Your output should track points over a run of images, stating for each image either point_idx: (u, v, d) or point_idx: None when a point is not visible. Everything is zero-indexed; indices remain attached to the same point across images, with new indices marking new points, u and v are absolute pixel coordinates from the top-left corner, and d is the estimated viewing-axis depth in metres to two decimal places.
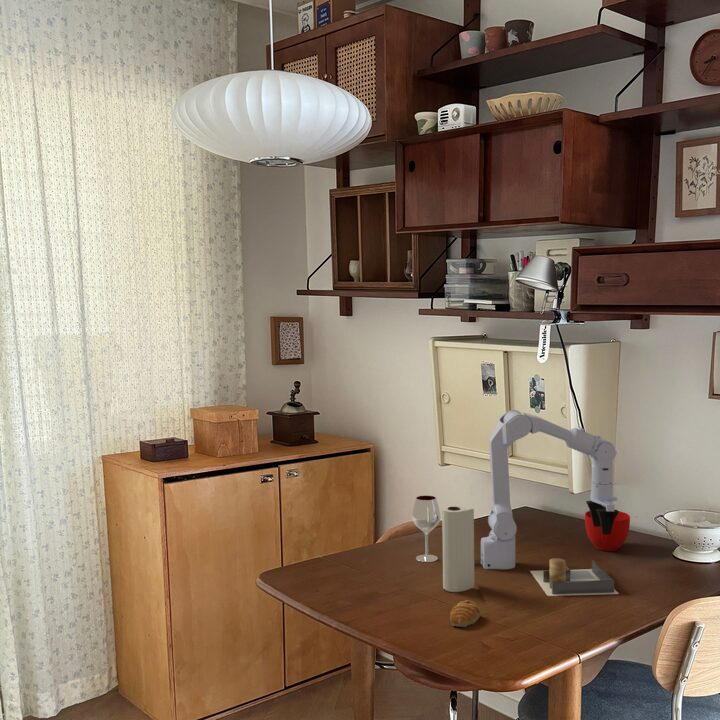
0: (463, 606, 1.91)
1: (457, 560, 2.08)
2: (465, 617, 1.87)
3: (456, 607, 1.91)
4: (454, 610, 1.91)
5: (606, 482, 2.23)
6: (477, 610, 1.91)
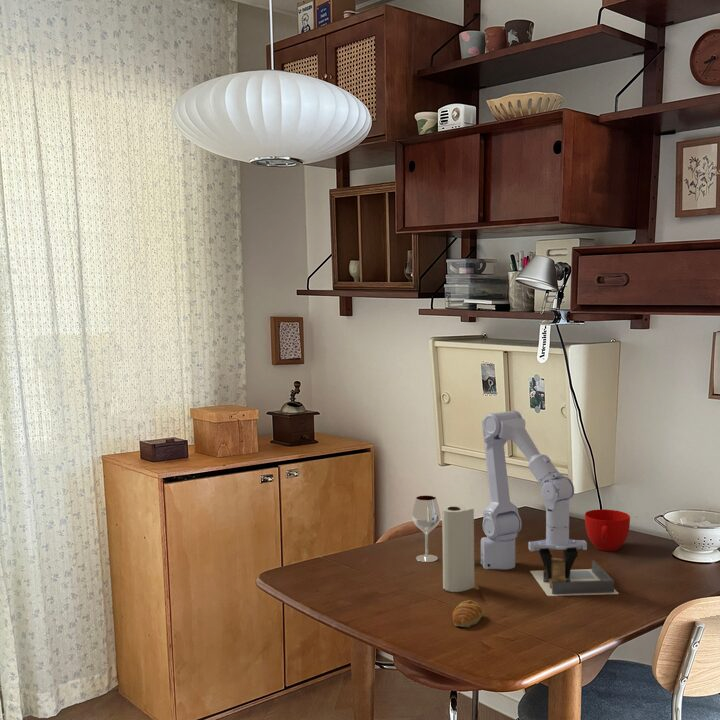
0: (465, 606, 1.91)
1: (457, 560, 2.08)
2: (468, 617, 1.87)
3: (458, 607, 1.91)
4: (456, 610, 1.91)
5: (550, 524, 2.05)
6: (479, 610, 1.91)
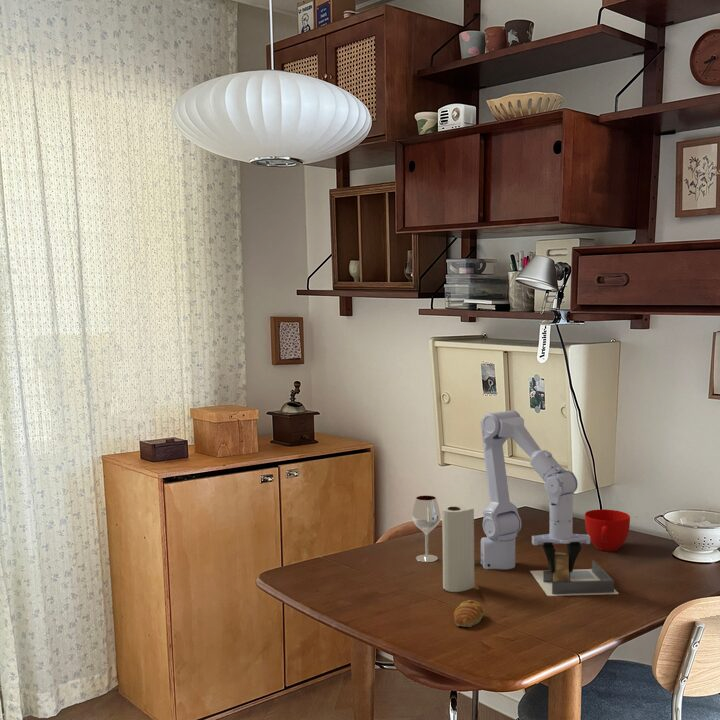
0: (467, 606, 1.91)
1: (457, 560, 2.08)
2: (470, 617, 1.87)
3: (460, 607, 1.91)
4: (458, 610, 1.91)
5: (554, 519, 2.05)
6: (481, 610, 1.91)
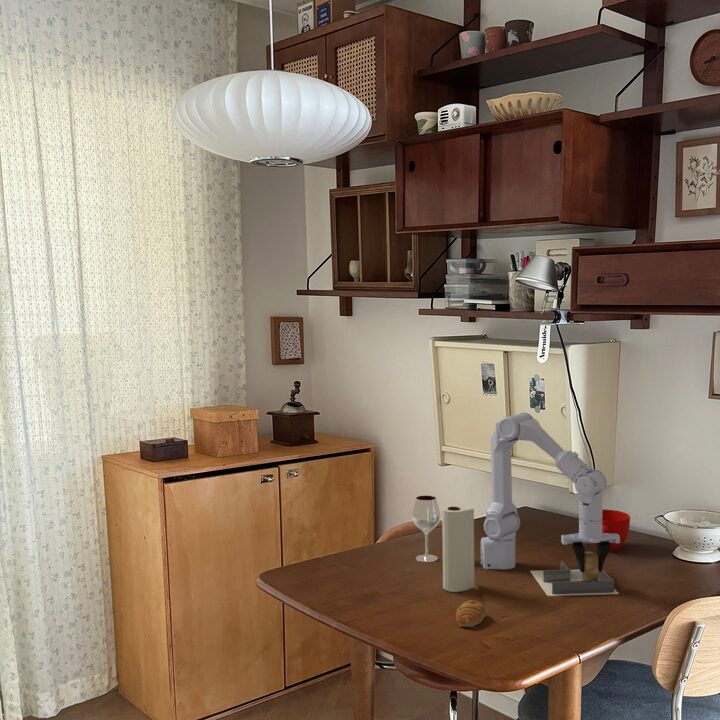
0: (469, 606, 1.91)
1: (457, 560, 2.08)
2: (472, 617, 1.87)
3: (462, 607, 1.91)
4: (460, 610, 1.91)
5: (586, 518, 2.05)
6: (483, 610, 1.91)
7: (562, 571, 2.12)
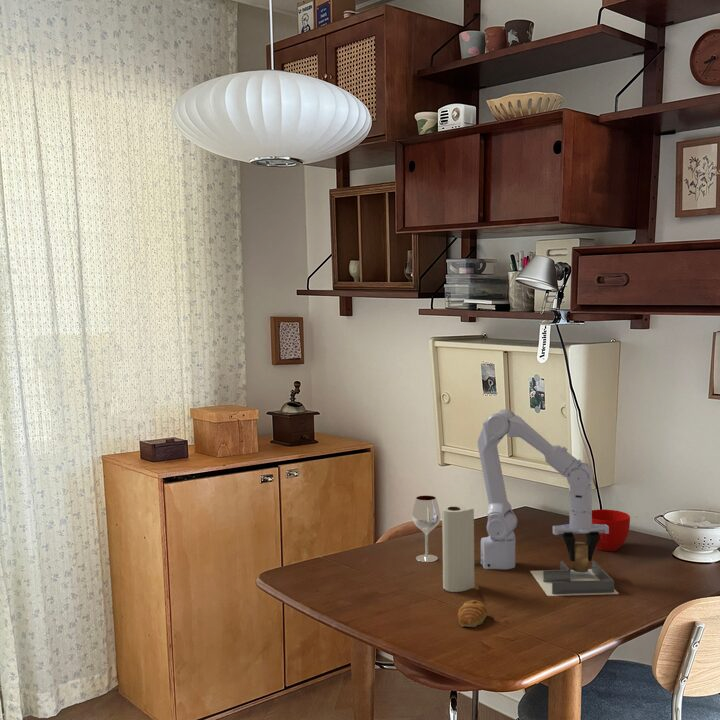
0: (470, 606, 1.91)
1: (457, 560, 2.08)
2: (474, 617, 1.87)
3: (464, 607, 1.91)
4: (462, 610, 1.90)
5: (579, 510, 2.13)
6: (484, 610, 1.91)
7: (562, 571, 2.12)
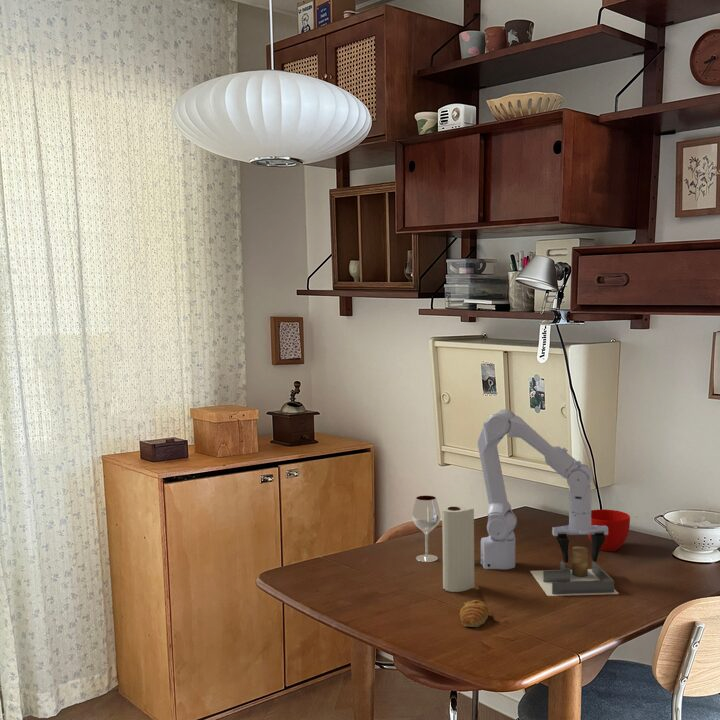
0: (472, 606, 1.91)
1: (457, 560, 2.08)
2: (477, 617, 1.87)
3: (466, 607, 1.91)
4: (464, 610, 1.90)
5: (579, 511, 2.14)
6: (486, 609, 1.91)
7: (562, 571, 2.12)
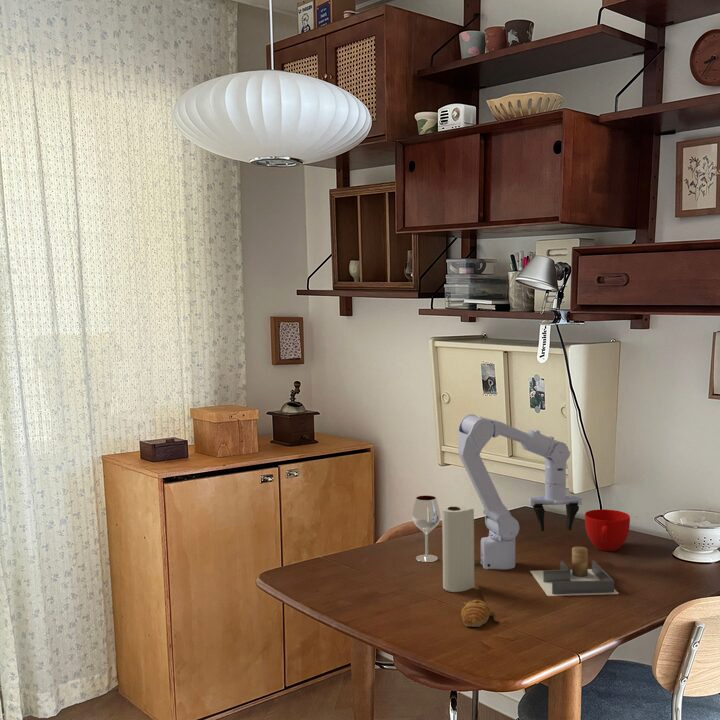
0: (474, 606, 1.91)
1: (457, 560, 2.08)
2: (479, 617, 1.87)
3: (467, 607, 1.91)
4: (466, 610, 1.90)
5: (561, 482, 2.27)
6: (488, 609, 1.91)
7: (562, 571, 2.12)
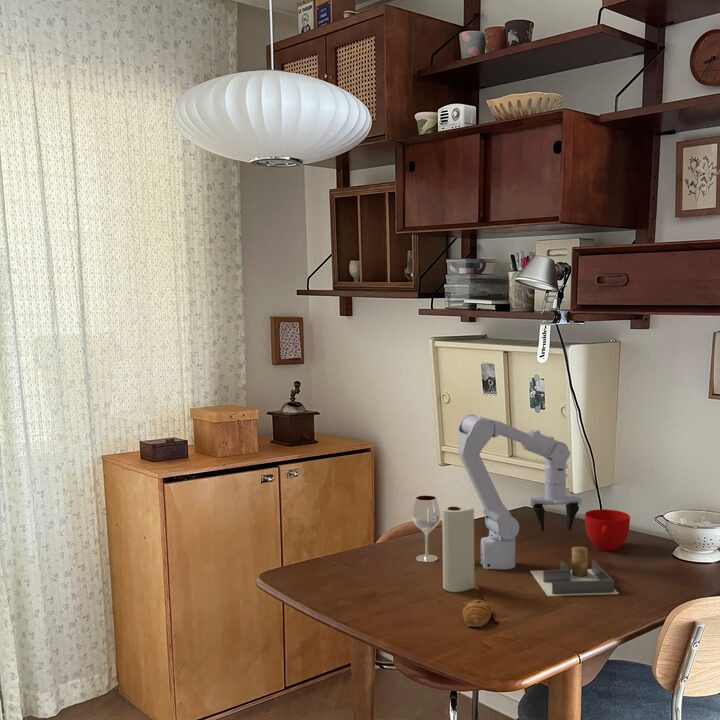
0: (475, 606, 1.91)
1: (457, 560, 2.08)
2: (480, 617, 1.87)
3: (468, 607, 1.91)
4: (467, 610, 1.90)
5: (561, 482, 2.27)
6: (489, 609, 1.91)
7: (562, 571, 2.12)
